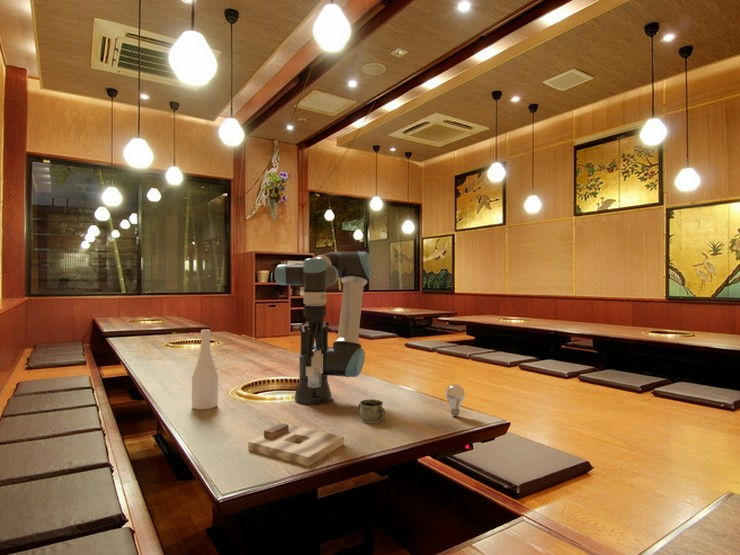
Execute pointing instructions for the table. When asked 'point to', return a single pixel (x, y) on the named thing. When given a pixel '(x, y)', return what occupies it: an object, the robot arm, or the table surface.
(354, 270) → the robot arm
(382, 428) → the table surface
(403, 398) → the table surface
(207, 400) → the wine bottle
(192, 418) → the table surface
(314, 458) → the jig
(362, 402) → the vessel
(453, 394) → the light bulb
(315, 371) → the shiny metal cylinder
